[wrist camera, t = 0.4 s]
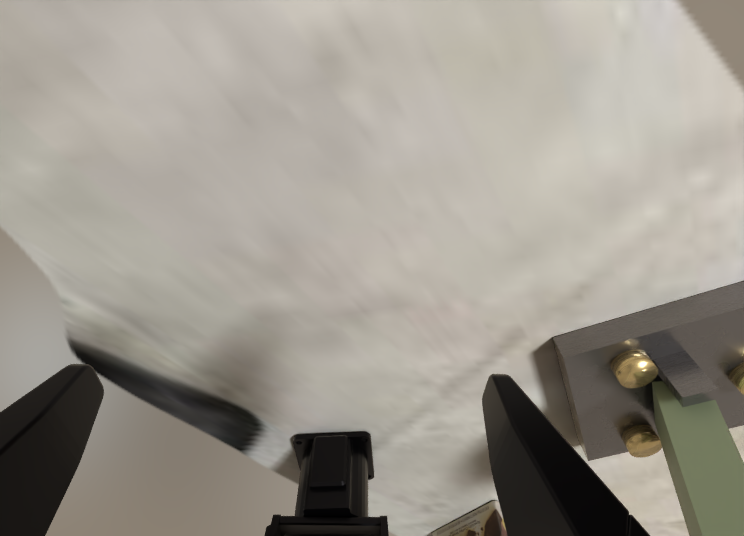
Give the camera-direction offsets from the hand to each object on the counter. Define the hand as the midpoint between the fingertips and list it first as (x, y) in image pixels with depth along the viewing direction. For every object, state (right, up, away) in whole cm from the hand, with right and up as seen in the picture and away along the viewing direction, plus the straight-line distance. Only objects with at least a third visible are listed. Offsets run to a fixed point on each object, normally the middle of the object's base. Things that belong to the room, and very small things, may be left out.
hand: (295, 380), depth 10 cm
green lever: (+23, -7, +20) cm, 31 cm away
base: (+23, -5, +22) cm, 32 cm away
